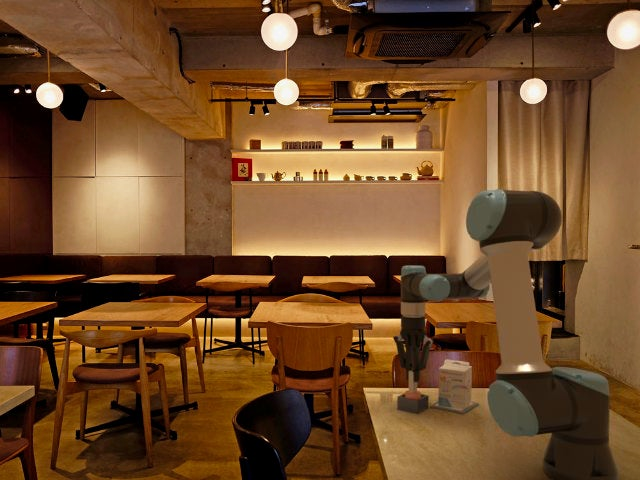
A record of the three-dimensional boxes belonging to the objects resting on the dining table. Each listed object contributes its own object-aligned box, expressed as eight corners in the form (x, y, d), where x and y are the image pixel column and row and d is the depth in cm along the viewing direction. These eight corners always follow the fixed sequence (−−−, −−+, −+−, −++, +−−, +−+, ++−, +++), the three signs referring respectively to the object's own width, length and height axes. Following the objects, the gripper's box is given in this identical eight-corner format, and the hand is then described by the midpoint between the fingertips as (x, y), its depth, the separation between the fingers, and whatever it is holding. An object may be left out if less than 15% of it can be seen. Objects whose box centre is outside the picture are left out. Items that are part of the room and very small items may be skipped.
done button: (416, 408, 163) (416, 395, 163) (402, 405, 166) (402, 392, 166) (423, 405, 167) (423, 392, 167) (409, 402, 170) (409, 389, 170)
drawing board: (463, 414, 161) (463, 412, 161) (430, 407, 168) (430, 405, 168) (479, 405, 170) (479, 402, 170) (446, 398, 177) (446, 396, 177)
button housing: (417, 414, 161) (417, 400, 161) (397, 409, 166) (397, 396, 166) (428, 408, 167) (428, 395, 167) (408, 404, 171) (408, 391, 171)
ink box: (437, 405, 167) (437, 362, 167) (445, 398, 175) (445, 357, 175) (465, 409, 163) (465, 365, 163) (472, 402, 170) (472, 360, 170)
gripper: (437, 316, 165) (437, 392, 165) (400, 312, 173) (400, 385, 173) (426, 318, 159) (426, 398, 159) (388, 315, 167) (388, 390, 167)
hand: (412, 391), depth 166 cm, fingers closed
